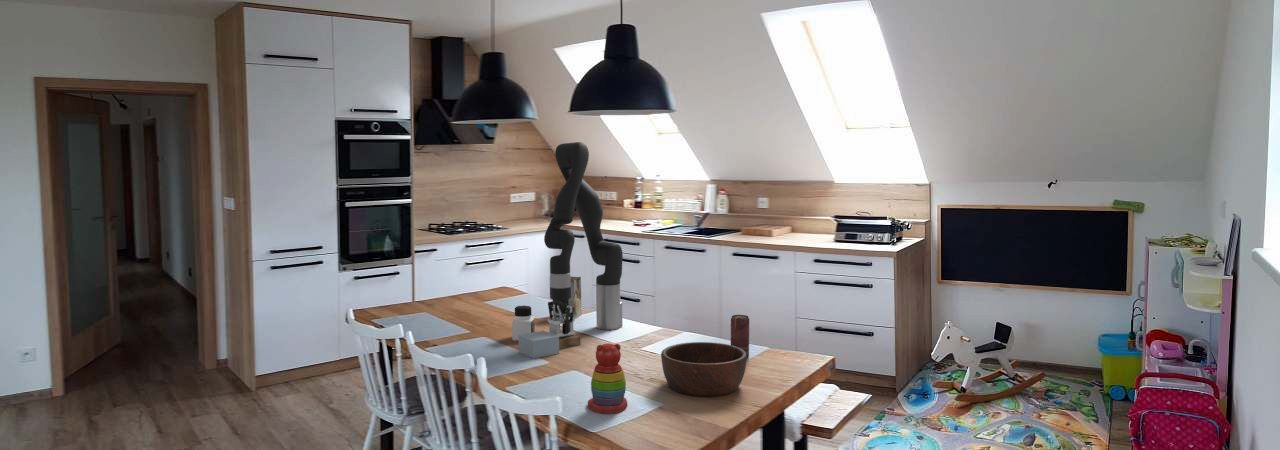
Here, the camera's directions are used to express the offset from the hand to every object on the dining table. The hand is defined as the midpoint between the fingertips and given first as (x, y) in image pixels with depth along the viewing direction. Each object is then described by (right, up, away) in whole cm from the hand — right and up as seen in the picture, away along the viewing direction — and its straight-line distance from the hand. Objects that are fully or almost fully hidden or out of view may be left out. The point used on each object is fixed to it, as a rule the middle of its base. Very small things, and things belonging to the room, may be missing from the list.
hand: (561, 332), depth 278 cm
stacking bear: (+19, -12, -66) cm, 70 cm away
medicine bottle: (-15, -4, +9) cm, 18 cm away
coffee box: (-1, 0, +44) cm, 44 cm away
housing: (0, -1, 0) cm, 1 cm away
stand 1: (-7, -6, -11) cm, 14 cm away
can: (+61, -6, -18) cm, 64 cm away
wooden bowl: (+47, -10, -48) cm, 67 cm away
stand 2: (0, -4, 0) cm, 4 cm away
